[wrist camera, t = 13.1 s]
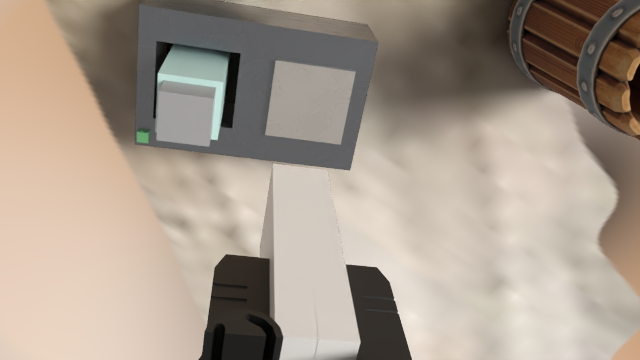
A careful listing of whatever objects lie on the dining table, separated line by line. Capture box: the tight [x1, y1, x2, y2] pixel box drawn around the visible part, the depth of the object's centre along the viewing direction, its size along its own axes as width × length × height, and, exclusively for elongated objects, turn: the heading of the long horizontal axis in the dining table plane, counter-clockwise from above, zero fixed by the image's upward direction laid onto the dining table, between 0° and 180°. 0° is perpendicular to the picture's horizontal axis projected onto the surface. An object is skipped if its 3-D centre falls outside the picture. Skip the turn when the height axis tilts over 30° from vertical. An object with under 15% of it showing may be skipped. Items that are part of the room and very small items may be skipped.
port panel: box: [135, 0, 378, 170], centre depth 43 cm, size 10×16×5 cm, turn 80°
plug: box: [155, 44, 231, 147], centre depth 40 cm, size 4×4×11 cm
